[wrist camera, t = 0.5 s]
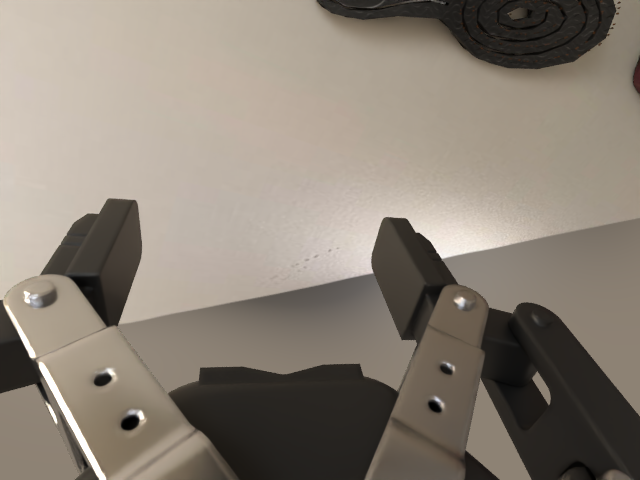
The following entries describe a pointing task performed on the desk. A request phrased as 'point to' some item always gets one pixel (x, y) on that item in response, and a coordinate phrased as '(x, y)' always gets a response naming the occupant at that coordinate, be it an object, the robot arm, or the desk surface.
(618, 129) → the desk surface
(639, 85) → the vegetable
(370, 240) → the desk surface
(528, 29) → the hairbrush
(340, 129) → the desk surface
